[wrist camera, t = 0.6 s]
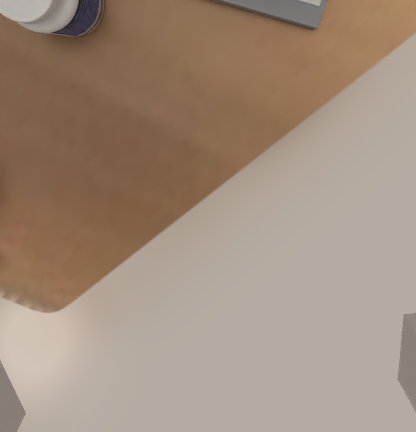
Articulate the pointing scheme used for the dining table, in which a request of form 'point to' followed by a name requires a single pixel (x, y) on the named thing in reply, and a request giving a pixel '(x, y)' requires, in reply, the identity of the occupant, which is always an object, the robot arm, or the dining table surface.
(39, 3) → the pill bottle
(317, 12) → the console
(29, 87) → the dining table surface
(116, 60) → the dining table surface
